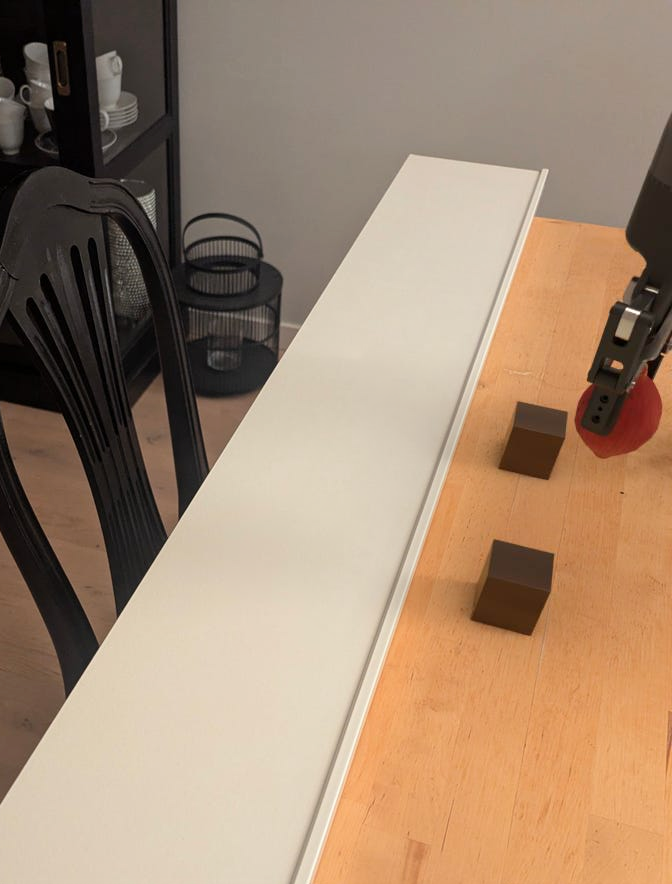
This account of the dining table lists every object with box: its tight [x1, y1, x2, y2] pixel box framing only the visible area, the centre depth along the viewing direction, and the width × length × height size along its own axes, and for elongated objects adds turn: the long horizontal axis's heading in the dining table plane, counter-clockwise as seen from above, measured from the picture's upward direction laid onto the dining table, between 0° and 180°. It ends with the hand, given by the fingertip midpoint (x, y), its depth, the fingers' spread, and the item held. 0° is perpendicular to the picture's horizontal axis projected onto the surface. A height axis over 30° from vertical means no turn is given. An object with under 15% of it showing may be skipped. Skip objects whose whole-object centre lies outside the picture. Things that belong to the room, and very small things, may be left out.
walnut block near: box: [470, 538, 555, 636], centre depth 76 cm, size 5×5×5 cm
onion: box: [574, 363, 663, 460], centre depth 67 cm, size 6×6×8 cm
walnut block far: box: [497, 400, 569, 480], centre depth 92 cm, size 5×5×5 cm
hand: (612, 412), depth 68 cm, fingers closed on onion, 6 cm apart
